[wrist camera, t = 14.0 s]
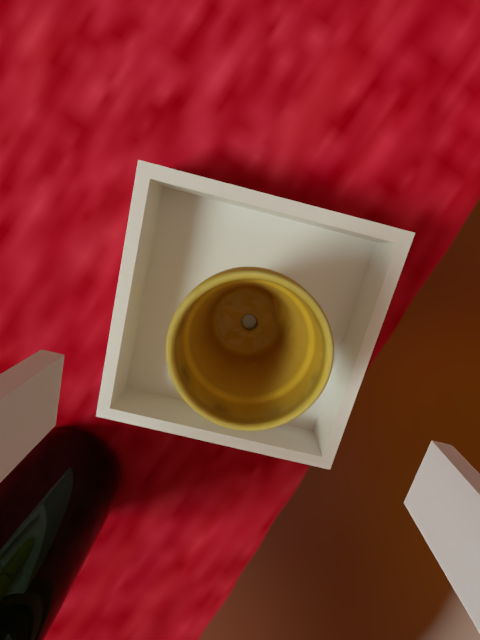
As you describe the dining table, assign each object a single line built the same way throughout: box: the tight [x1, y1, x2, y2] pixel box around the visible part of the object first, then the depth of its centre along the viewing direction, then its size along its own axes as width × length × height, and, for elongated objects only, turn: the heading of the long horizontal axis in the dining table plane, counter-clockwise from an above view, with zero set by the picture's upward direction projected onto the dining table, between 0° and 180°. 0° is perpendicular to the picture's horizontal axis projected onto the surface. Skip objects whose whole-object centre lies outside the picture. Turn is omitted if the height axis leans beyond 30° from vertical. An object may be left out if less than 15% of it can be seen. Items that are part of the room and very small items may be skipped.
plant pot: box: [166, 267, 334, 431], centre depth 25 cm, size 10×10×10 cm
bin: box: [96, 160, 415, 469], centre depth 29 cm, size 20×20×5 cm
